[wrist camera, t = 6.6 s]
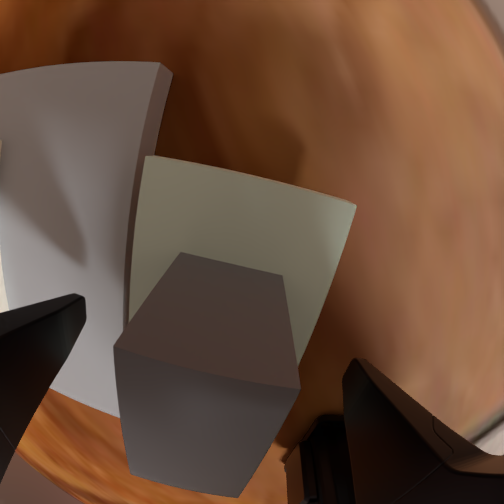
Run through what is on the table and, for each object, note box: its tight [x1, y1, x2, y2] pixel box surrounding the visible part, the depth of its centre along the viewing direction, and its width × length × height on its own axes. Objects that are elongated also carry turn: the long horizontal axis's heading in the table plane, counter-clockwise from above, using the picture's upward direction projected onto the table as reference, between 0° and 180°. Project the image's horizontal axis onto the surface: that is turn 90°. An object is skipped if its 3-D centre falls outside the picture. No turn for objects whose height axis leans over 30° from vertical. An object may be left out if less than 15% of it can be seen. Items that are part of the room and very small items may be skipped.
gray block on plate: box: [113, 156, 357, 498], centre depth 7 cm, size 6×10×5 cm, turn 167°
